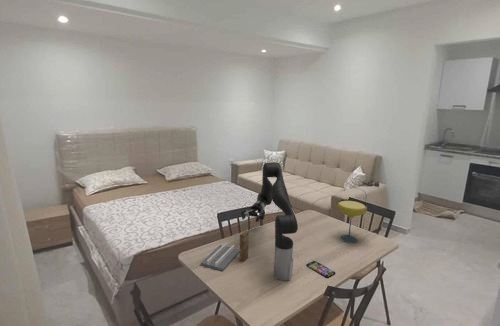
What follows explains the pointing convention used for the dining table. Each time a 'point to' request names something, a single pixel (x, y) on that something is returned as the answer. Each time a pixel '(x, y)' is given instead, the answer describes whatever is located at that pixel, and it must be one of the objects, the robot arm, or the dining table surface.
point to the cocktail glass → (351, 214)
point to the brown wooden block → (243, 246)
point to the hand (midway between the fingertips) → (249, 219)
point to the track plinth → (221, 257)
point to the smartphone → (320, 269)
